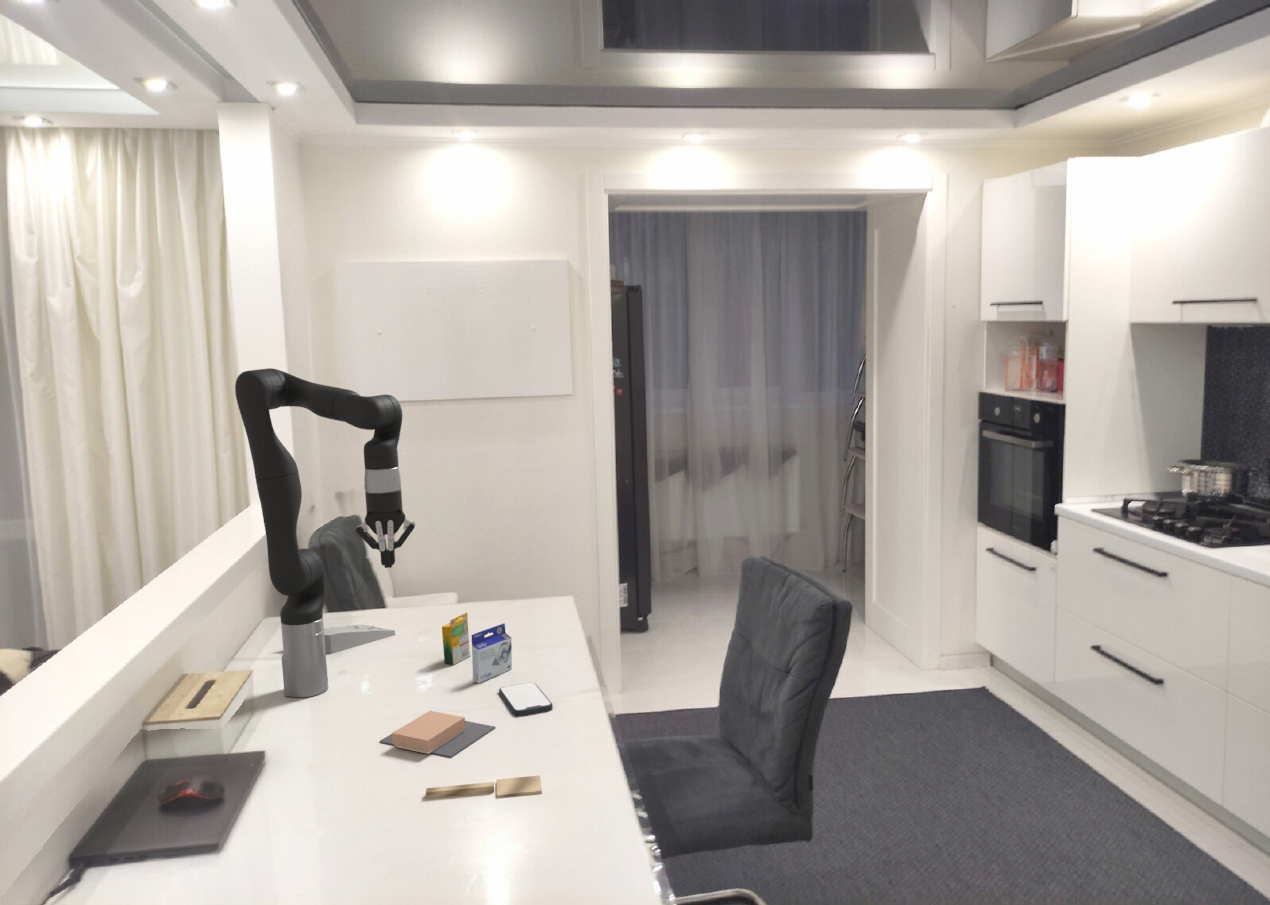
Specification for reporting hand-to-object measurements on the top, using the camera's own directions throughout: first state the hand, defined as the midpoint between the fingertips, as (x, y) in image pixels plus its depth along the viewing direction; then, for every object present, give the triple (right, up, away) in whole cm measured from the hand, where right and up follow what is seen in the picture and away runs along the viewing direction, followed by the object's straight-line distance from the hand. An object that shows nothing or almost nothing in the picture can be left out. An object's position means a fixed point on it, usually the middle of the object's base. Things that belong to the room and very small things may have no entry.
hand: (388, 566), depth 210 cm
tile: (+9, -33, -19) cm, 39 cm away
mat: (+13, -33, -11) cm, 37 cm away
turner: (+27, -36, -35) cm, 57 cm away
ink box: (+20, -29, +22) cm, 41 cm away
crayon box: (+9, -28, +34) cm, 44 cm away
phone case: (+29, -31, +6) cm, 43 cm away
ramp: (-25, -27, +50) cm, 62 cm away
